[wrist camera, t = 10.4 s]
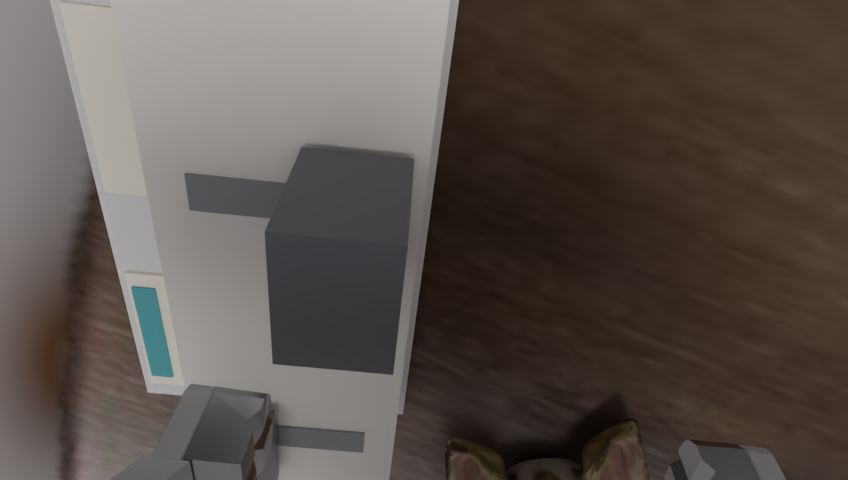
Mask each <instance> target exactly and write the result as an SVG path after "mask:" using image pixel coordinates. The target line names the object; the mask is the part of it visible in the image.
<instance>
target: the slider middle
mask: <svg viewBox="0 0 848 480" xmlns="http://www.w3.org/2000/svg"><path fill="white" fill-rule="evenodd" d="M413 170H414V159H411V158H402V157H393V156H383V155H374V154H364V153H355V152H346V151H336V150H327V149H318V148H308V147H301V150H300V152H299V154H298V156H297V159H296V161H295V163H294V166H293V168H292V170H291V172H290V175H289V177H288V179H287V182H286V184H285V186H284V188H283V191H282V193H281V195H280V198H279V200H278V202H277V204H276V207H275V209H274V211H273V214H272V216H271V218H270V220H269V223H268V225H267V227H266V230H265V247H266V264H267V280H268V296H269V313H270V329H271V345H272V362H273V364H277V365H288V366H299V367H311V368H322V369H333V370H344V371H355V372H366V373H377V374H388V375H393V372H394V363H395V355H396V346H397V337H398V328H399V319H400V311H401V302H402V293H403V284H404V275H405V267H406V258H407V249H408V237H409V224H410V211H411V197H412V184H413Z"/></svg>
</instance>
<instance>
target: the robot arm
mask: <svg viewBox="0 0 848 480" xmlns="http://www.w3.org/2000/svg"><path fill="white" fill-rule="evenodd" d="M270 409H271V396H270V394H266V393H259V392H252V391H245V390H238V389H230V388H223V387H215V386H207V385H199V384H190V385H189V387H188V388H187V389H186V390H185V391H184V393H183V395H182V397H181V399H180V401H179V403H178V405H177V407H176V409H175V410H174V412H173V414H172V416H171V418H170V420H169V422H168V424H167V426H166V428H165V430H164V432H163V434H162V436H161V438H160V440H159V442H158V444H157V446H156V448H155V450H154V452H153V454H152V456H151V457H150V456H142V457H141V458H139V459H138V460H137V461H135V462H134V463H133V464H131V465H130V466H128V467H127V468H126V469H124V470H123V471H121V472H120V473H119V474H117V475H116V476H114V477H113V478H112V479H110V480H257V476H258V475H259V474H260V473H261V472H262V471H264V470H265V467H266V464H267V460H268V457H269V452H270V447H271V442H272V432H273V425H272V420H271V419H270V418H269V417H268V415H269V412H270ZM678 452H679V455H680V458H681V459H680V460H678V461H676V462H674V463H672V464H670V466H669V468H668V470H667V472H666V474H665V476H664V480H786V479H785V477H784V475H783V473H782V471H781V469H780V467H779V466H778V464H777V462H776V460H775V458H774V456H773V455H772V453H771V452H770V451H769V450H768V449H767V448H761V447H752V446H743V445H736V444H729V443H719V442H709V441H698V440H687V441H685V442H683V443H682V445H681V447H680V448H679V450H678Z"/></svg>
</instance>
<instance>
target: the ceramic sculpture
mask: <svg viewBox="0 0 848 480" xmlns="http://www.w3.org/2000/svg"><path fill="white" fill-rule="evenodd" d="M445 459H446V460H445V463H446V479H447V480H649V474H648V470H647V466H646V458H645V454H644V448H643V444H642V439H641V435H640V433H639V427H638V422H637V421H636V420H634V419H631V418H628V419H626V420H624V421H622V422H620V423H618V424H616V425H614V426H612V427H610V428H608V429H606V430H604V431H603V432H601V433H600V434H598V435H597V436H595V437H594V438H592V439H590V440H589V441H588V442H587V444H586V445H585V447H584V448H583V452H582V460H583V466H581V465H579V464H578V463H576V462H573V461H571V460H568V459H563V458H542V459H534V460H527V461H523V462H520V463H518V464H515V465H513V466H511V467H510V468H509V469H508V470H507V471H506V472H505V466H504V462H503V460H502V457H501V456H500V455H499V454H498V453H497V452H495V451H494V450H492V449H490V448H487V447H485V446H483V445H480V444H478V443H476V442H472V441H468V440H464V439H461V438H458V437H455V436H452V437H449V438H448V440H447V451H446V454H445Z"/></svg>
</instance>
